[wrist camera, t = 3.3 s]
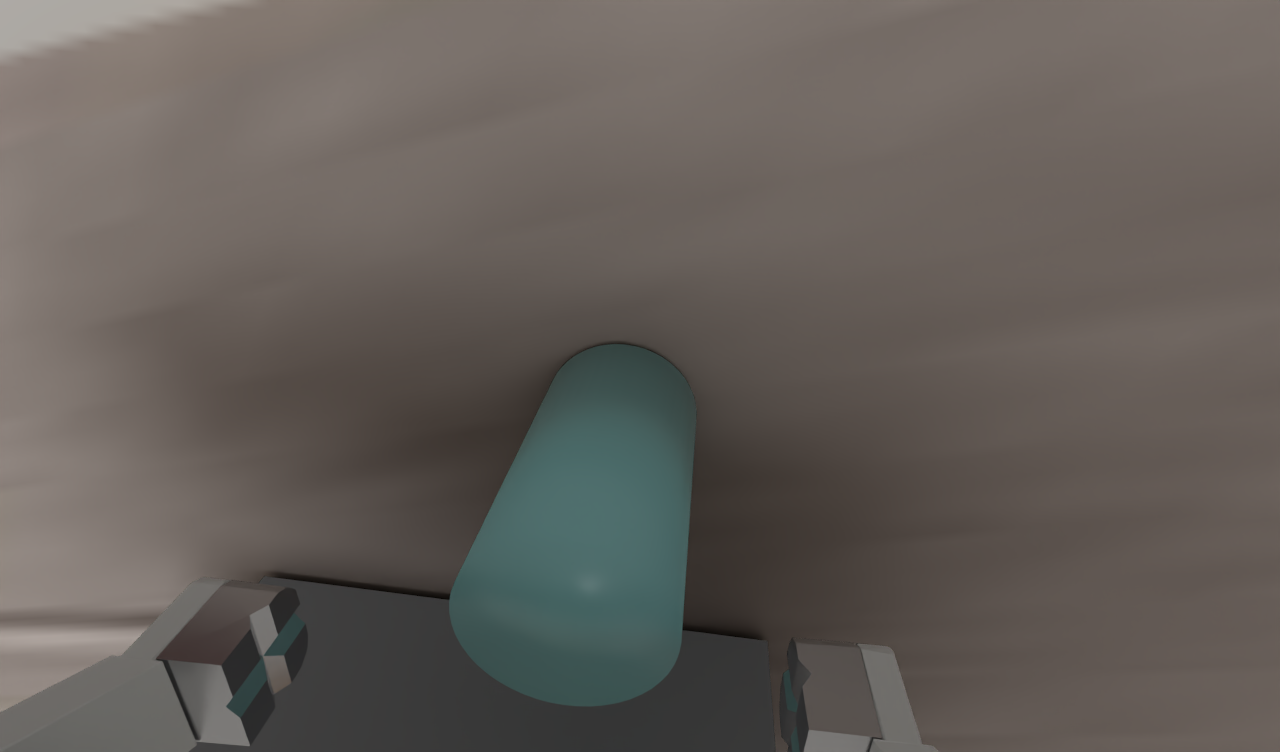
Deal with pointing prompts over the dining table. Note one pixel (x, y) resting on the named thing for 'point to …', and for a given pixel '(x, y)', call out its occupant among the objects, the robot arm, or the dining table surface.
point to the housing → (490, 691)
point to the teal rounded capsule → (587, 537)
